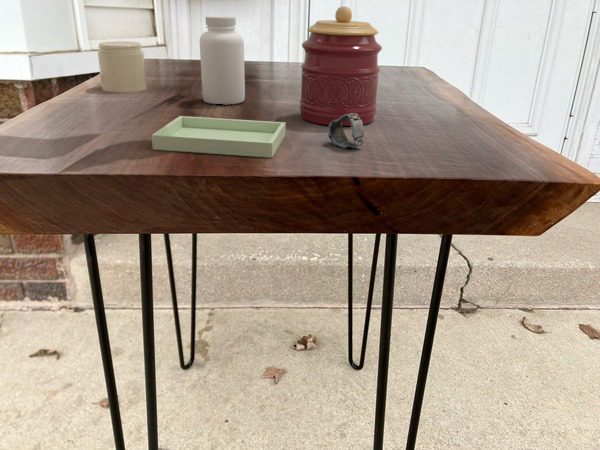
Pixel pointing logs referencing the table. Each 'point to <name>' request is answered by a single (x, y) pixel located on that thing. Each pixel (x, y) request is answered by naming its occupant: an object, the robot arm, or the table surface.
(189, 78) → the table surface
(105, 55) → the jar
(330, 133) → the wristwatch
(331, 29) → the kitchen canister
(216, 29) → the pill bottle
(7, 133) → the table surface
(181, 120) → the tray
